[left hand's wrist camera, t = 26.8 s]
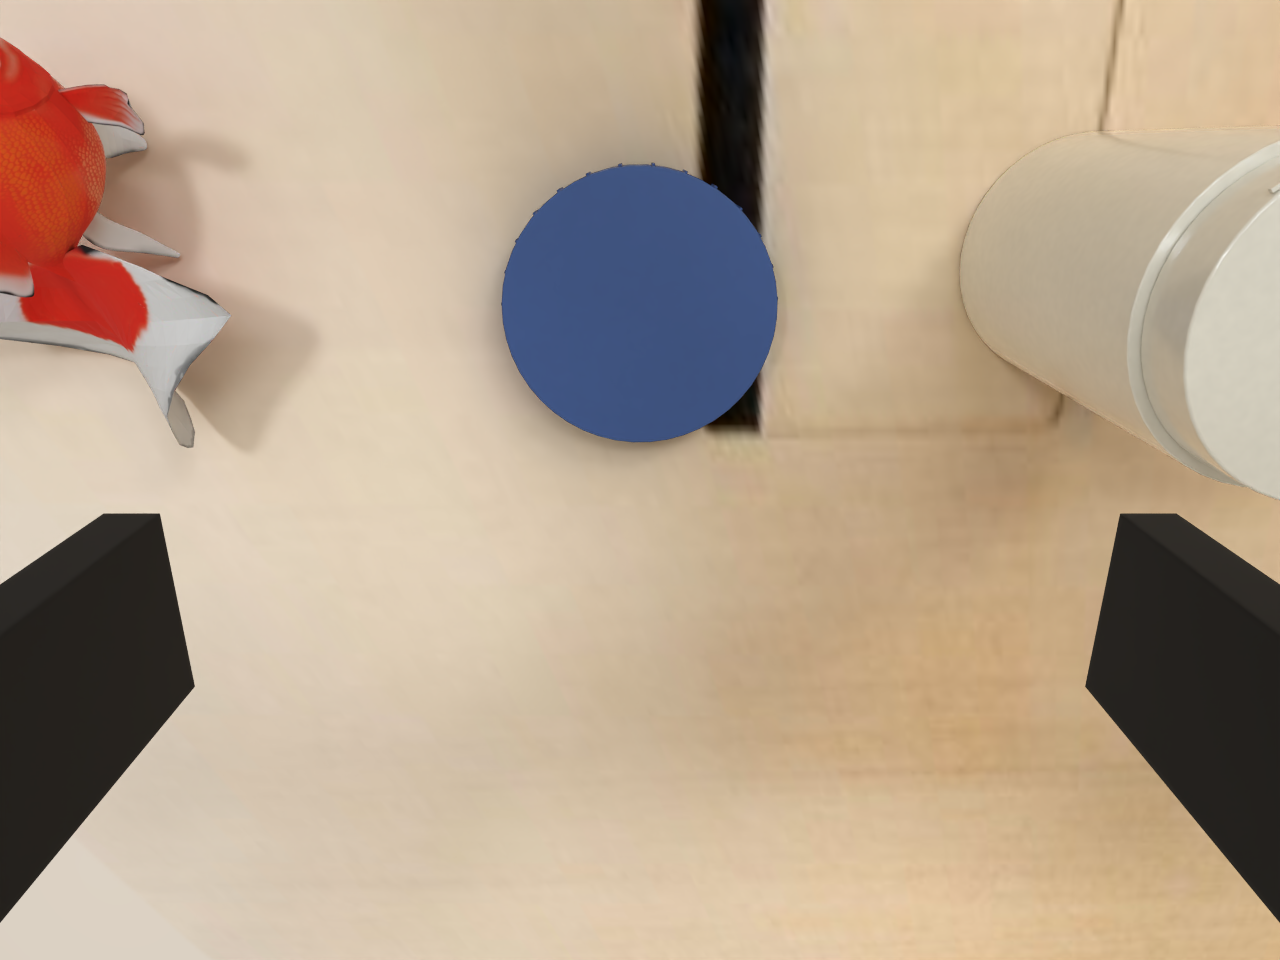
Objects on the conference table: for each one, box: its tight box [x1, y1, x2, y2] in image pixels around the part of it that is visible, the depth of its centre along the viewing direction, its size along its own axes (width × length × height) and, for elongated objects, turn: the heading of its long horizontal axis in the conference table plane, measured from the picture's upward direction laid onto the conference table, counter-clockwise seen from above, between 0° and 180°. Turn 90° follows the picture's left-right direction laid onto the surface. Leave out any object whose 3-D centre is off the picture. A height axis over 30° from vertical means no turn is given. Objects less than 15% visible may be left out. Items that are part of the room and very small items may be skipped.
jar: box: [960, 125, 1280, 500], centre depth 29 cm, size 10×10×16 cm
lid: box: [501, 163, 778, 442], centre depth 36 cm, size 11×11×2 cm
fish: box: [0, 38, 231, 448], centre depth 32 cm, size 11×16×10 cm
